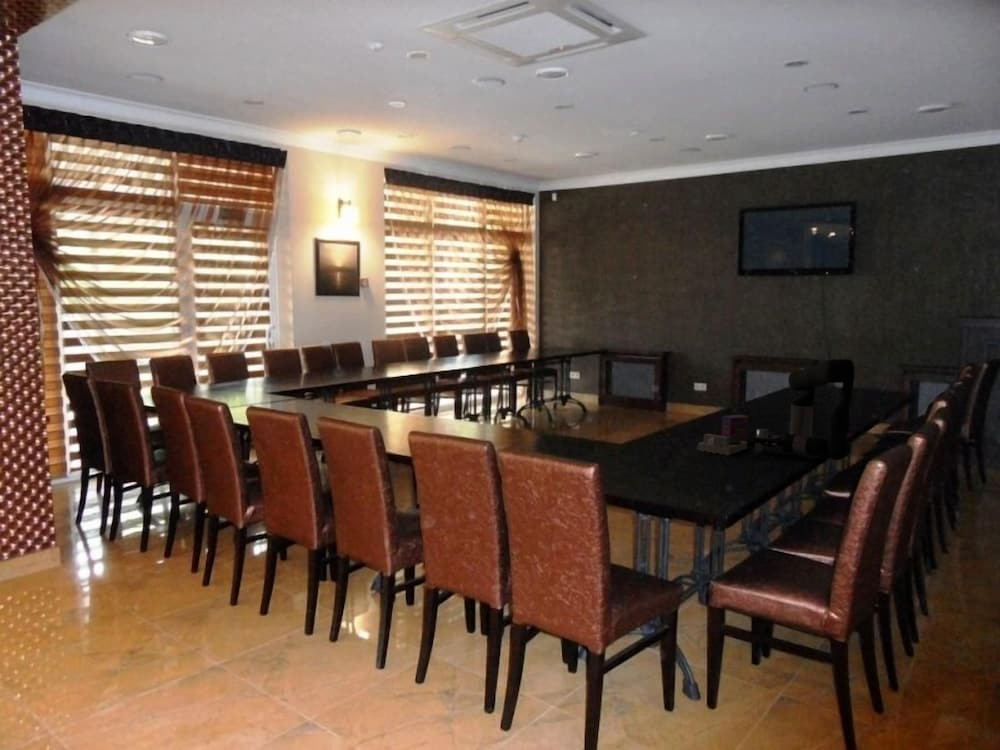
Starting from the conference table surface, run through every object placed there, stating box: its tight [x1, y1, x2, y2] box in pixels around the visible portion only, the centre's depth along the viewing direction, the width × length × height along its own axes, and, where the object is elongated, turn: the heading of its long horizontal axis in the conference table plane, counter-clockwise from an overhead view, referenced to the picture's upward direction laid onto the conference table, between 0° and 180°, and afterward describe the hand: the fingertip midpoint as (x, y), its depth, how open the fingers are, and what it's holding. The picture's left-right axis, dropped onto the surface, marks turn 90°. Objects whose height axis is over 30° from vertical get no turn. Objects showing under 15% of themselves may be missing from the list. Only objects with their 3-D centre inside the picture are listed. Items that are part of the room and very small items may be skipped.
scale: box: [697, 433, 748, 456], centre depth 311 cm, size 19×14×7 cm
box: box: [721, 414, 749, 443], centre depth 328 cm, size 10×6×12 cm, turn 112°
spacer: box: [754, 428, 770, 455], centre depth 305 cm, size 5×5×10 cm
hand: (757, 438), depth 306 cm, fingers open, 8 cm apart
